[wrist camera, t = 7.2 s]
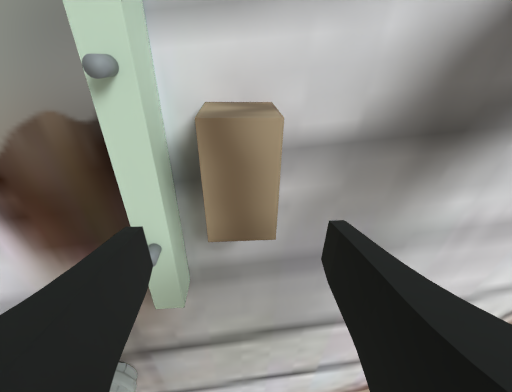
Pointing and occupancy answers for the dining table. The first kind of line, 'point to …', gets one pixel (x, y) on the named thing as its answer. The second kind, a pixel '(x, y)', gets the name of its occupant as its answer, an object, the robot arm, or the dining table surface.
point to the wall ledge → (133, 132)
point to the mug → (124, 379)
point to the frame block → (240, 168)
